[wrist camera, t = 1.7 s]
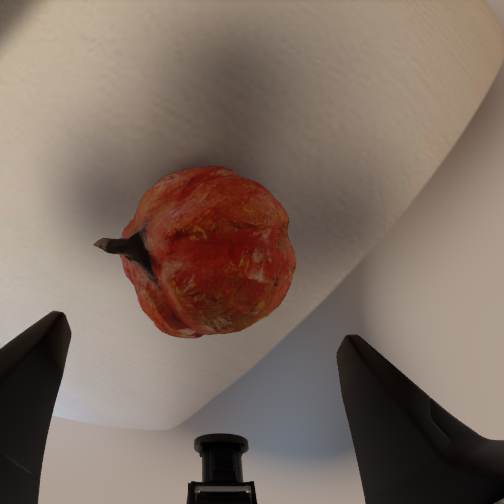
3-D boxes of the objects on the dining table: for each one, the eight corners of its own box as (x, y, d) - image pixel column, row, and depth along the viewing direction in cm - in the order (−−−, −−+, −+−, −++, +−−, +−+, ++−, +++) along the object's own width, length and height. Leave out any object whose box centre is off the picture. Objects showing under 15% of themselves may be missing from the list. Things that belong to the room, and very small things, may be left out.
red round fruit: (287, 180, 16) (162, 84, 8) (352, 287, 14) (244, 269, 5) (200, 248, 19) (64, 214, 11) (242, 349, 16) (88, 375, 8)
